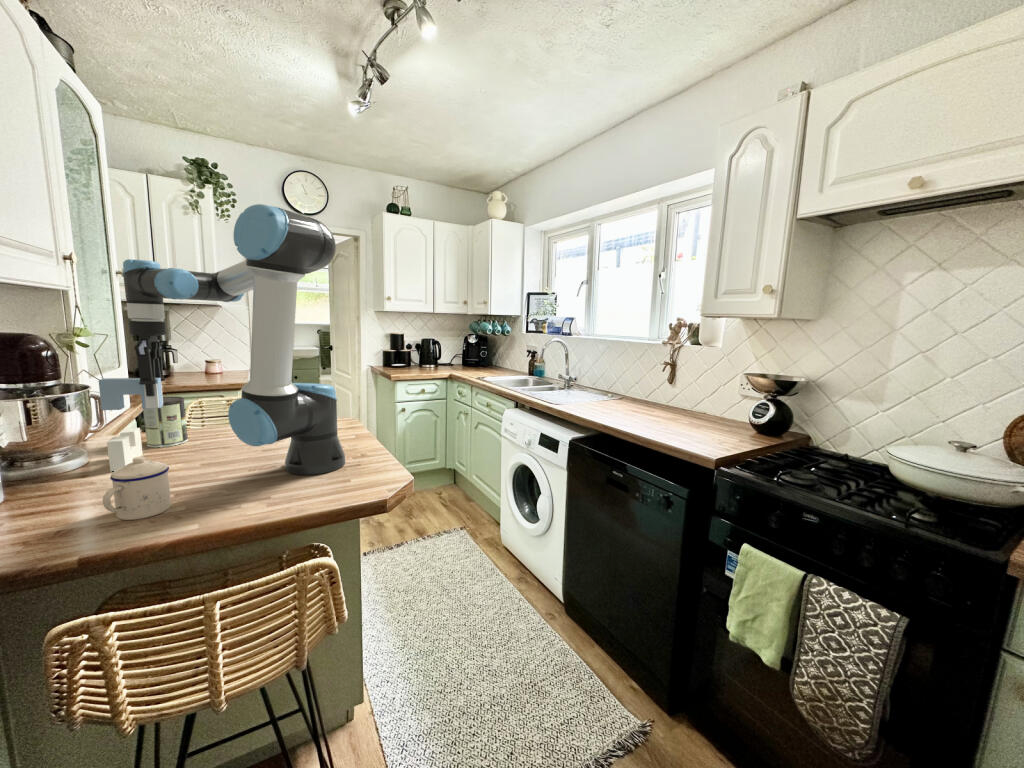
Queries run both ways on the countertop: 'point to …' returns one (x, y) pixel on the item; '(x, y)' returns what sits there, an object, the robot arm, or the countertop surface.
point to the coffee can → (166, 423)
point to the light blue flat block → (123, 392)
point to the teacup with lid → (139, 490)
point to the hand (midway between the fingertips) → (154, 406)
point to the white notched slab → (124, 448)
